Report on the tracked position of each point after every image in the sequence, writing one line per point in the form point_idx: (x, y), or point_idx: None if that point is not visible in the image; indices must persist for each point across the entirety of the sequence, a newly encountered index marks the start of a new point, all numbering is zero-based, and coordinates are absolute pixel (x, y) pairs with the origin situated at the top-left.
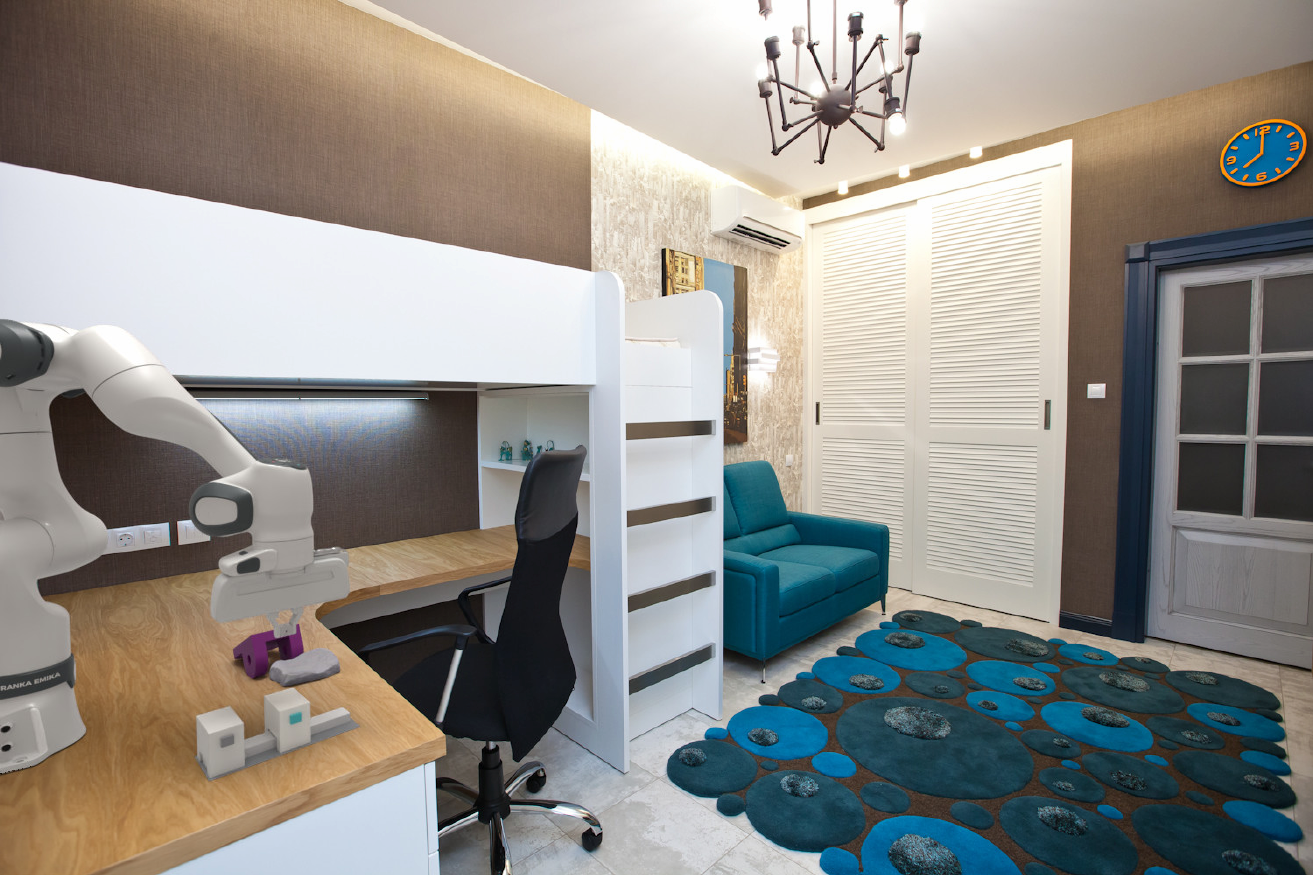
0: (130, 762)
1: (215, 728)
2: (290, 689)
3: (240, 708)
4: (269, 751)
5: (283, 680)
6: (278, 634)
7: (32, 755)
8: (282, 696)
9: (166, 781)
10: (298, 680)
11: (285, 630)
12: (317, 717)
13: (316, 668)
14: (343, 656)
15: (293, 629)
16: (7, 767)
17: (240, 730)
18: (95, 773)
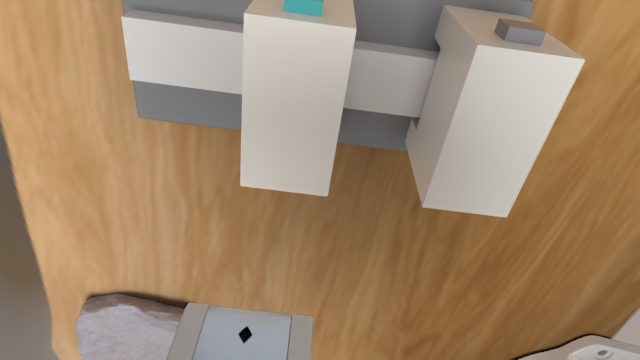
0: (522, 245)
1: (544, 86)
2: (252, 176)
3: (300, 291)
4: (365, 30)
5: None
6: (302, 331)
7: (587, 355)
8: (292, 146)
9: None
10: (175, 310)
11: (251, 343)
12: (210, 76)
13: (130, 321)
14: (66, 345)
15: (197, 329)
16: (621, 348)
17: (481, 39)
18: (572, 251)
